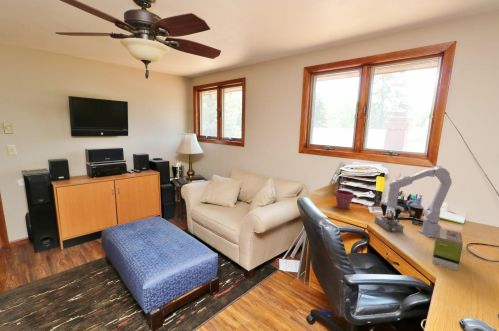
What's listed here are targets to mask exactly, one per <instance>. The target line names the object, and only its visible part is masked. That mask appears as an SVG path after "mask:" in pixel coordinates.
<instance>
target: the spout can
mask: <svg viewBox="0 0 499 331" xmlns="http://www.w3.org/2000/svg"><path fill="white" fill-rule="evenodd" d="M386 216H387V218H386V219H387V220H393V218H395V211H393V210H386Z"/></svg>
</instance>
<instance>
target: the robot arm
mask: <svg viewBox="0 0 499 331" xmlns="http://www.w3.org/2000/svg"><path fill="white" fill-rule="evenodd" d="M450 174H451V173H450V172H449V171H448V170H447V169H446V168H444V167H442V166H440V165H435V166H431V167H428V168H427V169H424V170H422V171H420V172H418V173H416V174H415V173H414V174H413V175H411V176H410V175H403V176H402V177H400V178H398V179H396V178H395V180H392V181H390V183H389V185H388V186H389V188H388V190H389V191H388V195H387V200H386V201H380V202H379V204H380V209H381V211H382V216H387V211H388V210H387V209H388V208H393V209H395V210H394V218H395V220H398V219H399V216H400V215H401V213H402V212H404V210H405V207H402V206H400V205H398V199H399V193H400V192H399V191H400V189H401V188H404V187H408V186H410V185H413V182H414V181H417V180H419V179H423V178H426V177H432V178H435V177H436V178H437V180H438V181H439V182H440V183H439V185H438V187H437V189H436V192H435V193H434V194H435V195H433V196H434V197H433V199H432V201H431V203H430V205H429V206H428V207H427V209H425V210H424V211H423V212H424V213H423V214H424V216H425V217H424V218H423V222H422V228H421V229H418V232H420V233H422V234H423V235H425V236H426V237H428V238H434V239H435V238H436V232H437V228H442V226H441V225H440V224H439V221H440V220H441V219H440V218H441V217H440V215H441V208H442V206H443V204H444V201H445V199H446V196H447V194H448V192H449V190H450V188H451V186H452V184H453V182H452V179H451V175H450Z"/></svg>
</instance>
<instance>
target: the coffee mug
mask: <svg viewBox="0 0 499 331" xmlns="http://www.w3.org/2000/svg"><path fill="white" fill-rule="evenodd" d="M407 206H408V207H409V210H408V208H407ZM404 209H405V210H406V211H407V212H408V213H409V218H410V217H413V218H417V219H420V220H421V217H422V215H423V212H424V209H425V207H424V206H422V205H419V204H414V203H412V204H411V203H410V204H405V205H404Z"/></svg>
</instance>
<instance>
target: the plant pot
mask: <svg viewBox="0 0 499 331" xmlns="http://www.w3.org/2000/svg"><path fill="white" fill-rule="evenodd" d="M334 194H335V198H336V199H335V200H336V206H337V207H338V208H339V209H343V210H347V209H349V208H350V206H351V203H352V200H353V199H354V196H355V195H354V192H353V191H352V192H351V191H350V190H344V189H343V190H342V189H338V190H335V193H334Z"/></svg>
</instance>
